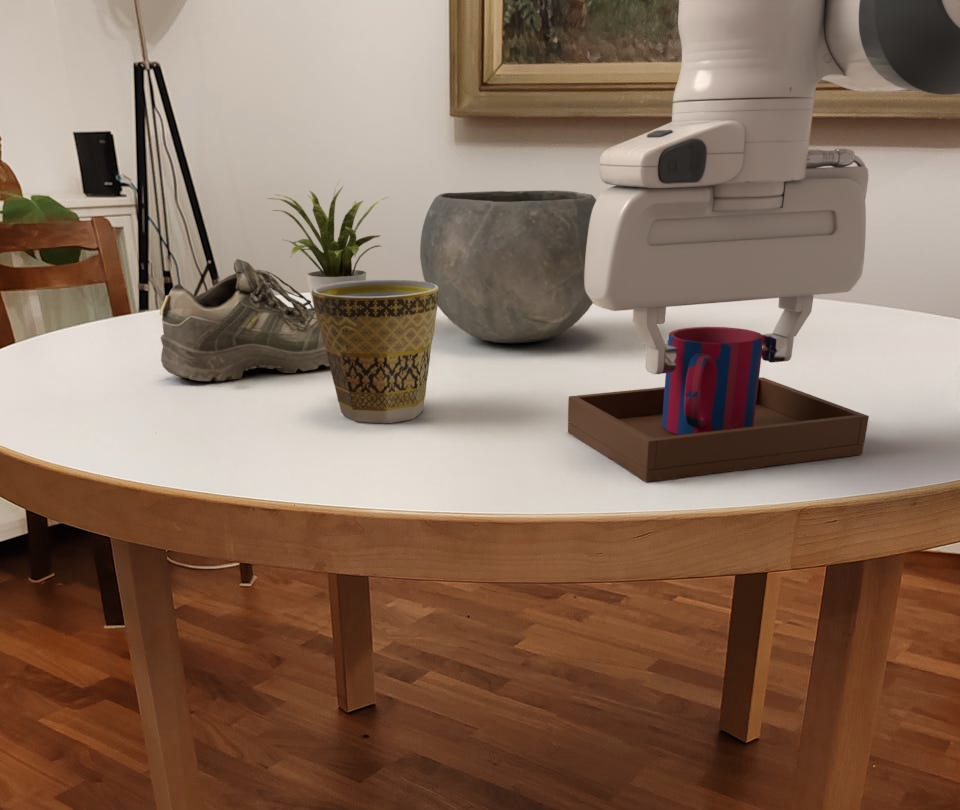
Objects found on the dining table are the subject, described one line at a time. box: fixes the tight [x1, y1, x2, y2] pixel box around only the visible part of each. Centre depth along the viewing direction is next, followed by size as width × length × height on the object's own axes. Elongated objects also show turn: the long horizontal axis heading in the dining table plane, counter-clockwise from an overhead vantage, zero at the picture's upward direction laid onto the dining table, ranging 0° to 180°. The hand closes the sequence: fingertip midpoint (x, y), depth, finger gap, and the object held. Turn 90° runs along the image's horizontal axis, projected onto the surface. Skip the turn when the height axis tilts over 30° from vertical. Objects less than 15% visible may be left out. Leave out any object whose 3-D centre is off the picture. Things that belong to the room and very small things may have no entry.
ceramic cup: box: [311, 279, 438, 424], centre depth 81 cm, size 13×10×10 cm
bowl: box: [419, 189, 597, 345], centre depth 107 cm, size 20×20×15 cm
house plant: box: [266, 181, 389, 306], centre depth 115 cm, size 14×14×16 cm
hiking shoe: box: [159, 258, 330, 382], centre depth 97 cm, size 9×21×12 cm
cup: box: [662, 326, 764, 435], centre depth 71 cm, size 7×10×7 cm
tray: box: [567, 377, 870, 483], centre depth 72 cm, size 17×13×3 cm
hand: (718, 366), depth 71 cm, fingers open, 8 cm apart
